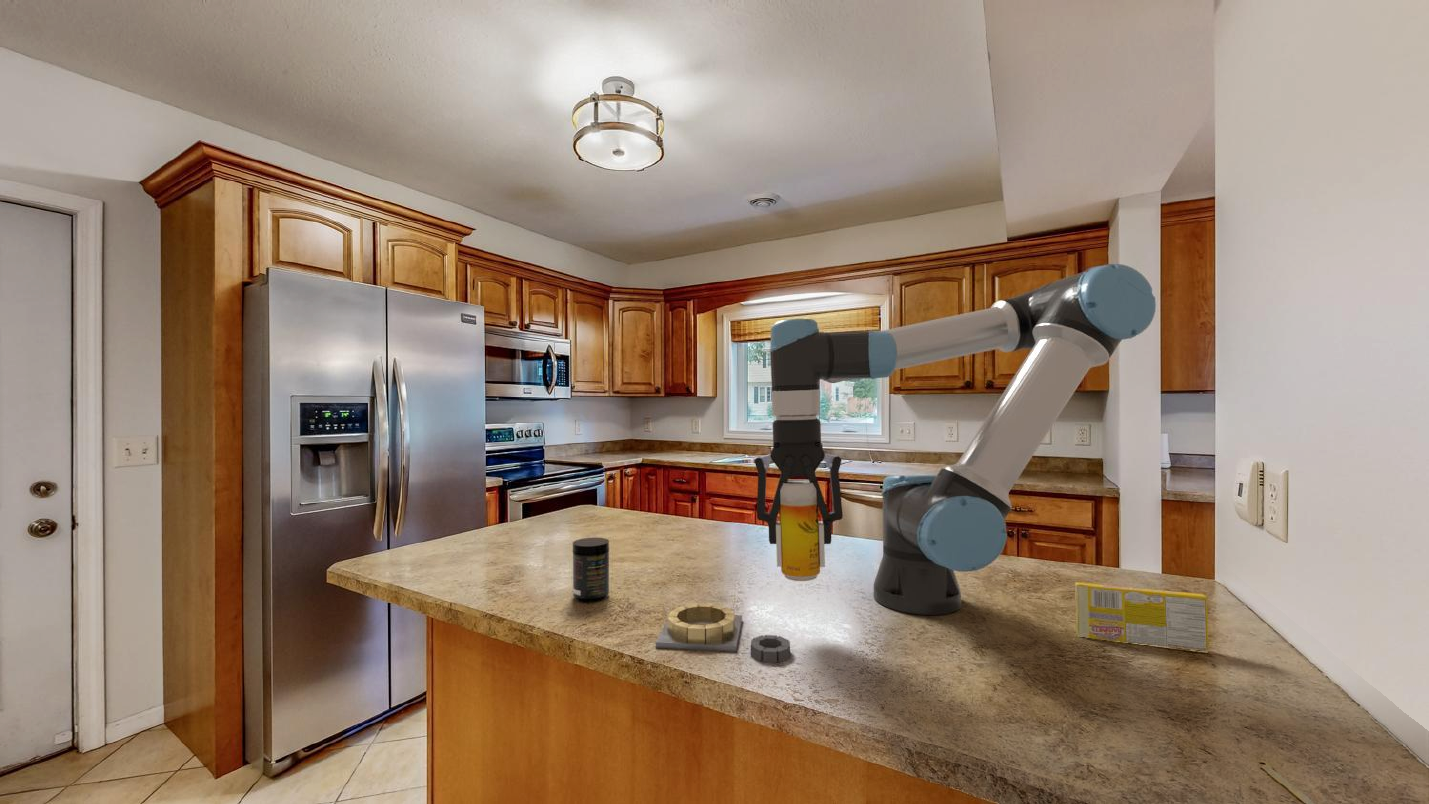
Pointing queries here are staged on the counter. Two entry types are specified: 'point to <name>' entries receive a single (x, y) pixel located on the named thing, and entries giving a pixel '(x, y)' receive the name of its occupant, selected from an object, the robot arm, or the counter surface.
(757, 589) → the counter surface
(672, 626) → the collar block
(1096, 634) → the candy box
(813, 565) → the beer can
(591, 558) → the supplement container
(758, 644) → the ring
